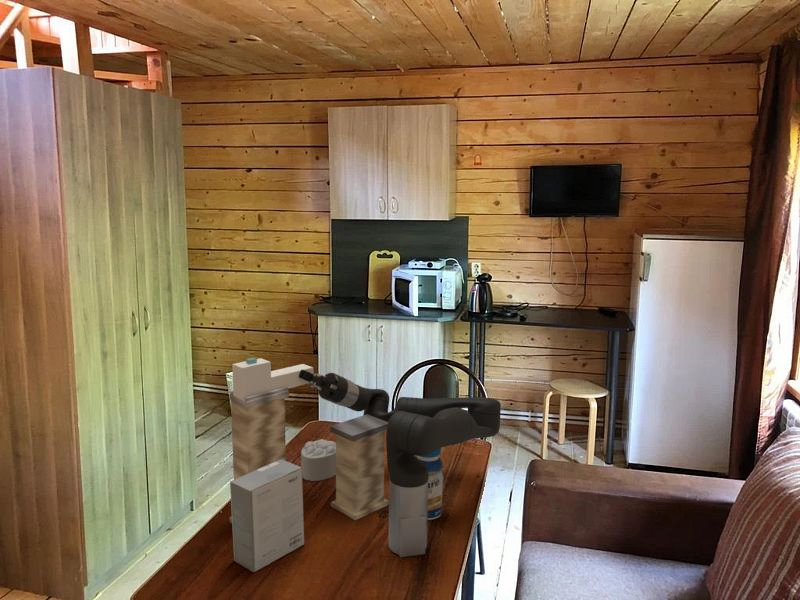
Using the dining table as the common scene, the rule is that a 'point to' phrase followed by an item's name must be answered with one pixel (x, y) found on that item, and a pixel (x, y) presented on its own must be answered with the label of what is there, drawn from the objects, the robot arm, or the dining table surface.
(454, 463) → the dining table surface
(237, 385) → the breaker module
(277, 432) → the stand
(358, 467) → the lower stand
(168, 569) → the dining table surface
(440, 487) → the beverage bottle
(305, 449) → the lumpy-topped squat cylinder
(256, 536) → the hard drive box
